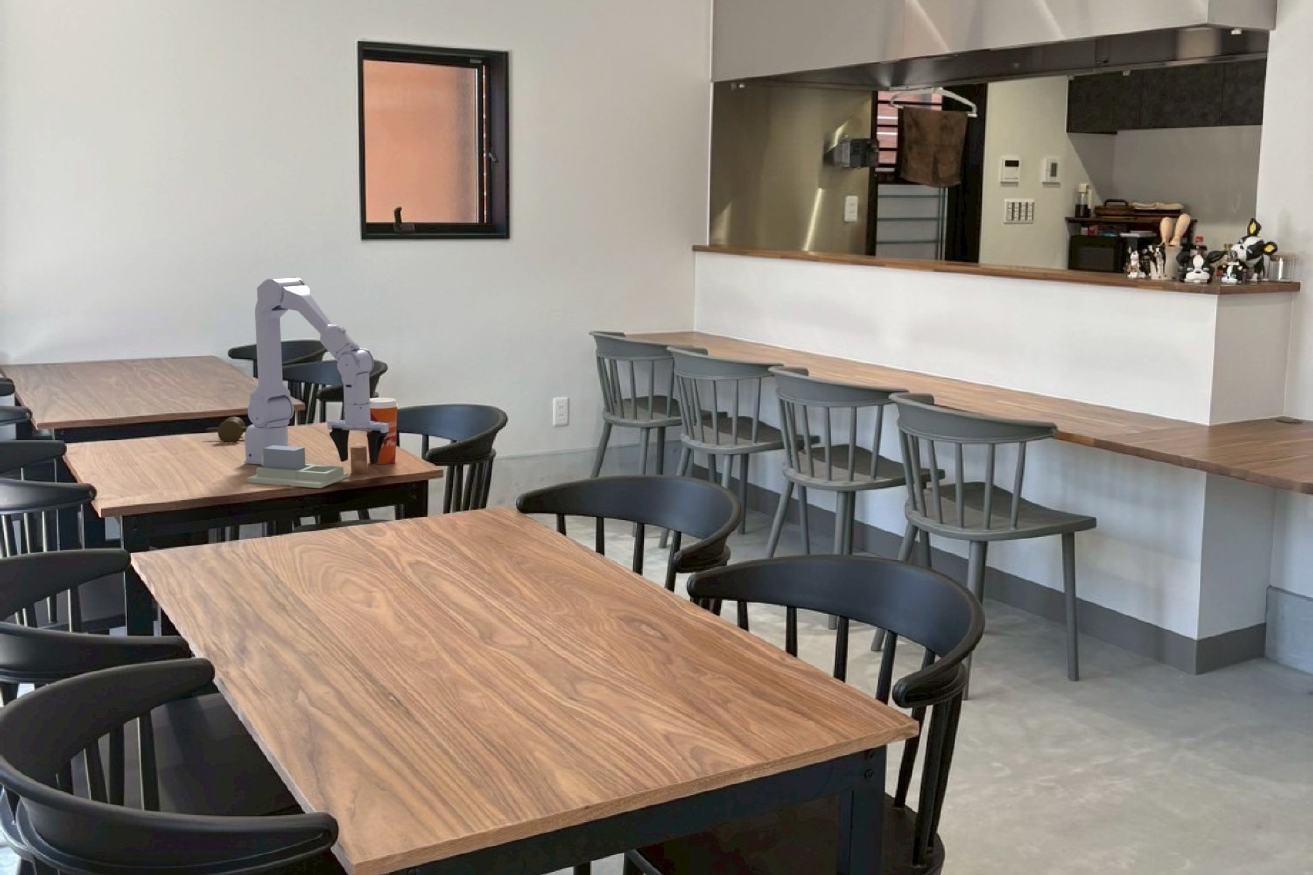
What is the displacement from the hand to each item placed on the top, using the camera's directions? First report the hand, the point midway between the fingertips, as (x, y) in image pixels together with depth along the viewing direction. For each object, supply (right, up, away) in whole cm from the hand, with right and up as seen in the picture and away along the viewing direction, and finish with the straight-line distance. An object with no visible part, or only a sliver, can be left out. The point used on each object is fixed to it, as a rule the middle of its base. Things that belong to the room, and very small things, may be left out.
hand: (359, 461), depth 293 cm
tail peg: (0, -3, +1) cm, 3 cm away
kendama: (-38, +5, +40) cm, 56 cm away
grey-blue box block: (-15, -3, -7) cm, 17 cm away
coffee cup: (+3, 0, +13) cm, 13 cm away
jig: (-12, -4, -7) cm, 14 cm away
